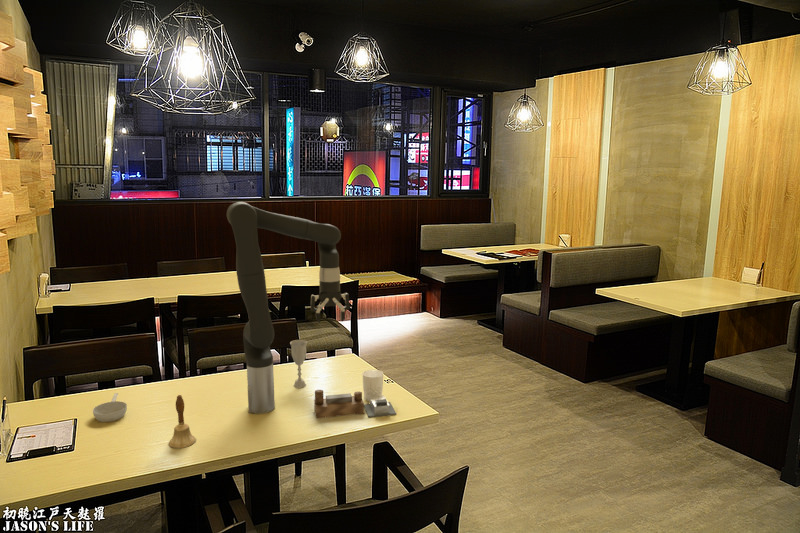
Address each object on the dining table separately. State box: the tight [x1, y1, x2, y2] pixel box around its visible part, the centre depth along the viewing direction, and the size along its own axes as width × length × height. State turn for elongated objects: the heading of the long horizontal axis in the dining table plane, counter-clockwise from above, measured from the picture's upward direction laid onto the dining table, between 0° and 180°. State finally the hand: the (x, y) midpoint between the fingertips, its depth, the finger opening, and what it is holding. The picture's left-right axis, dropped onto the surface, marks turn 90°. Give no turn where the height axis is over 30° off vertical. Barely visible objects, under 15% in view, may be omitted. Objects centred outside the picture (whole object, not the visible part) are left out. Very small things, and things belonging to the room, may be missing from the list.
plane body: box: [313, 389, 365, 419], centre depth 209 cm, size 17×7×8 cm, turn 104°
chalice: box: [289, 339, 308, 389], centre depth 232 cm, size 7×7×18 cm
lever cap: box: [369, 394, 390, 415], centre depth 210 cm, size 9×6×4 cm, turn 14°
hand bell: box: [168, 394, 197, 449], centre depth 185 cm, size 8×8×16 cm
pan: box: [92, 392, 128, 423], centre depth 208 cm, size 11×18×4 cm, turn 16°
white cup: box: [361, 369, 384, 402], centre depth 221 cm, size 8×8×10 cm
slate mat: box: [364, 401, 397, 418], centre depth 211 cm, size 10×10×1 cm
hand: (330, 321), depth 216 cm, fingers open, 8 cm apart
